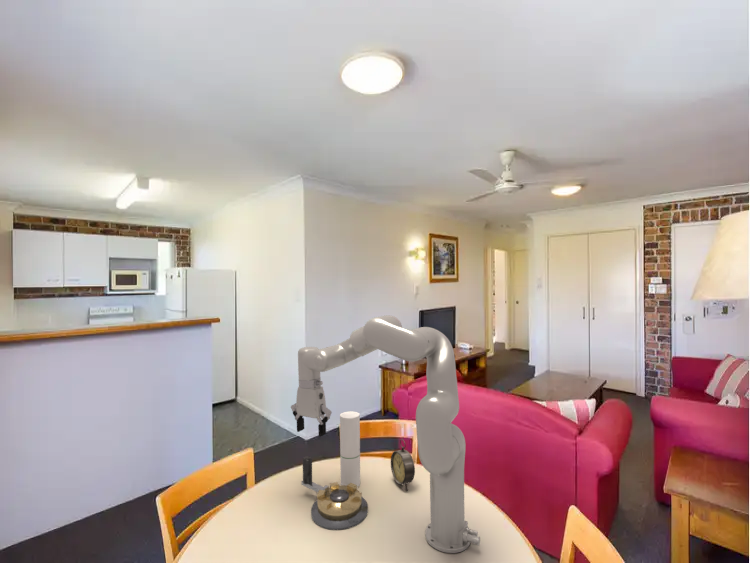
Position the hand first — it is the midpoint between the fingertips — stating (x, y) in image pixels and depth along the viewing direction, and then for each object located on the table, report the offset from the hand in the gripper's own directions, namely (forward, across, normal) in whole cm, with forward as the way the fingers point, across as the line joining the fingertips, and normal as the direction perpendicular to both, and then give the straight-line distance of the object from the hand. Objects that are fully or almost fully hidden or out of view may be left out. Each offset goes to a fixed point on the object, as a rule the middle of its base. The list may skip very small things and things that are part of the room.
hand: (311, 432), depth 126 cm
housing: (+22, -14, +3) cm, 26 cm away
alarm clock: (+22, -24, -21) cm, 39 cm away
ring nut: (+20, -9, +3) cm, 22 cm away
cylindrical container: (+22, -8, -12) cm, 26 cm away
